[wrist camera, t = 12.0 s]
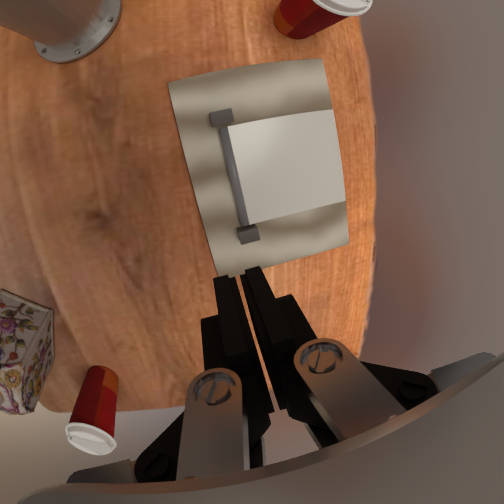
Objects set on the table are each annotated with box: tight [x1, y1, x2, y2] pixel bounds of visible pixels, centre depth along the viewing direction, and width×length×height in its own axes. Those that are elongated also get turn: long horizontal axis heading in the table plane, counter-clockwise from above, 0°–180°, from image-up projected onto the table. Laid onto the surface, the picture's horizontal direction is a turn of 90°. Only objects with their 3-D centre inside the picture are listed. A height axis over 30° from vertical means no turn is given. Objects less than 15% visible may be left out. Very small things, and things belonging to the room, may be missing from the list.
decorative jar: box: [0, 289, 55, 415], centre depth 29 cm, size 12×12×18 cm
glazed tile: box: [218, 109, 346, 226], centre depth 34 cm, size 12×1×14 cm
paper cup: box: [274, 0, 372, 39], centre depth 22 cm, size 8×8×14 cm
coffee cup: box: [65, 366, 118, 455], centre depth 37 cm, size 8×8×15 cm
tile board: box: [168, 58, 349, 278], centre depth 34 cm, size 26×19×3 cm
